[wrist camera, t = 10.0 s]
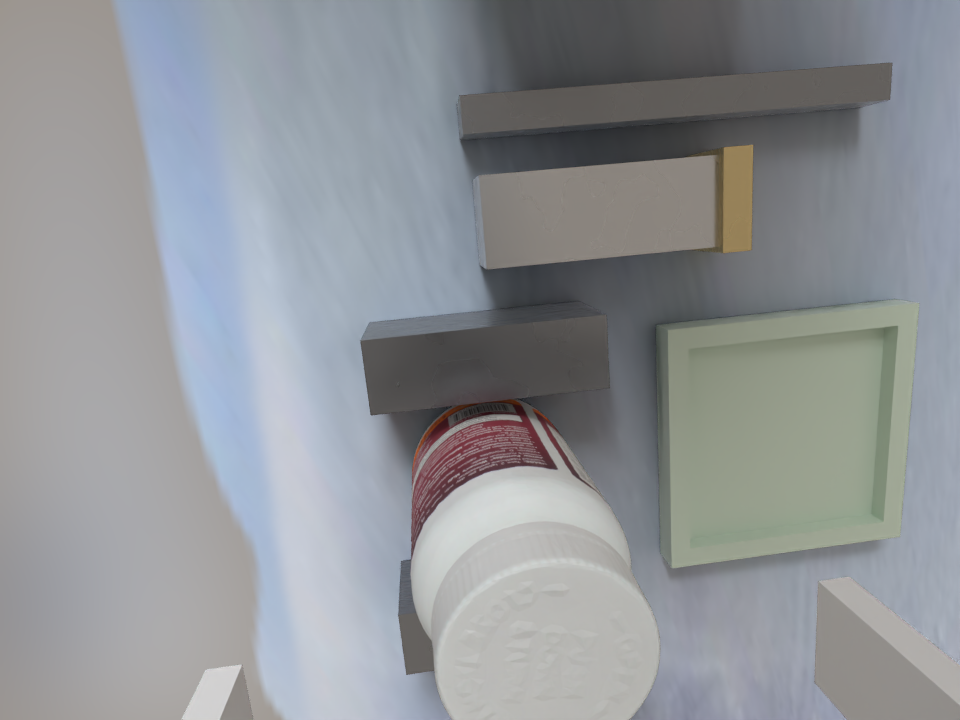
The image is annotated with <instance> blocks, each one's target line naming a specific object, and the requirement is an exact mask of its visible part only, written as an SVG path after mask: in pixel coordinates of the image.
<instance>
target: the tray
mask: <svg viewBox="0 0 960 720" xmlns="http://www.w3.org/2000/svg"><path fill="white" fill-rule="evenodd" d="M918 314H919V303H916V302H910V301H904V300H898V299H892V300H882V301H873V302H864V303H854V304H845V305H836V306H826V307H817V308H808V309H798V310H789V311H780V312H771V313H761V314H752V315H743V316H733V317H724V318H715V319H705V320H696V321H687V322H677V323H668V324H659V325H656V365H657V414H658V462H659V510H660V553H661V554H662V556H663V557H664V559H665V560H666V561H667V563H668V564H669V565H670V567H671V568H679V567H686V566H693V565H701V564H708V563H715V562H722V561H729V560H737V559H744V558H751V557H758V556H765V555H773V554H780V553H787V552H794V551H801V550H809V549H816V548H823V547H830V546H837V545H845V544H852V543H859V542H866V541H873V540H881V539H888V538H895V537H900V531H901V519H902V507H903V495H904V483H905V471H906V459H907V447H908V435H909V422H910V410H911V398H912V386H913V374H914V362H915V350H916V338H917V326H918Z"/></svg>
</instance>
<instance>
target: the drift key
mask: <svg viewBox="0 0 960 720" xmlns="http://www.w3.org/2000/svg"><path fill="white" fill-rule="evenodd" d="M686 157H687V158H675V159H664V160H652V161H640V162H629V163H617V164H605V165H594V166H582V167H571V168H559V169H547V170H536V171H524V172H513V173H501V174H489V175H479V176H477V177H476V178H475V179H474V180H472V184H473V196H474V207H475V218H476V230H477V241H478V253H479V264H480V265H481V266H483V267H484V268H485V269H497V268H508V267H518V266H528V265H538V264H548V263H559V262H569V261H579V260H589V259H599V258H610V257H620V256H630V255H640V254H650V253H661V252H671V251H681V250H698V251H707V252H717V253H730V252H740V251H750V250H752V192H753V145H744V146H732V147H723V148H719V149H714V150H710V151H706V152H702V153H698V154H694V155H690V156H686Z"/></svg>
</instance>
